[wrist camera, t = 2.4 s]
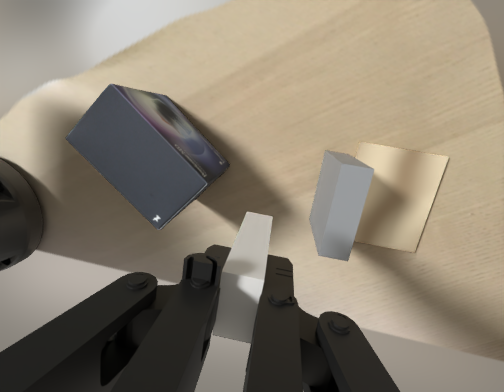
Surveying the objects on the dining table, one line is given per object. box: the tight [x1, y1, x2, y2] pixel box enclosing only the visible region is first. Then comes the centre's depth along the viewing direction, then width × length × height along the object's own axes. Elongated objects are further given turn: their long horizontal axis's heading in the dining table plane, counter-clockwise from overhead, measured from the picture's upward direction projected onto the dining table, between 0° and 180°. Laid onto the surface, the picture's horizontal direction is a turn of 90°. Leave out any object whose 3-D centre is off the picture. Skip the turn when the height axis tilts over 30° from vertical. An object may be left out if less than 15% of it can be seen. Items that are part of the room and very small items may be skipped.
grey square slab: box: [309, 150, 374, 261], centre depth 27 cm, size 3×8×9 cm, turn 171°
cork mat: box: [354, 141, 449, 253], centre depth 31 cm, size 9×11×1 cm
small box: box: [65, 84, 230, 230], centre depth 27 cm, size 11×6×10 cm, turn 43°
